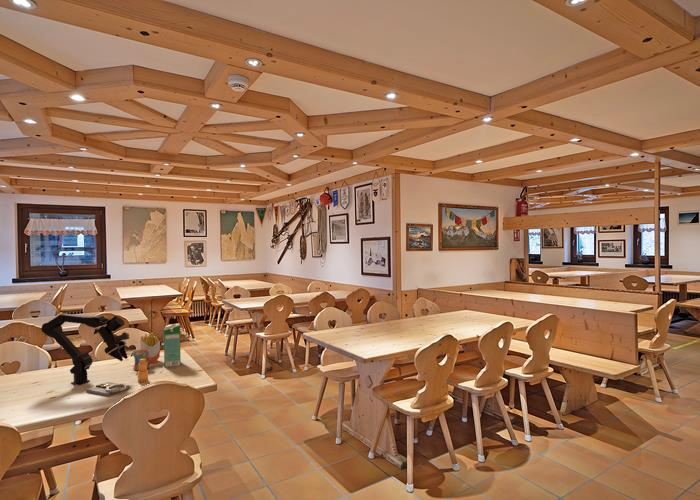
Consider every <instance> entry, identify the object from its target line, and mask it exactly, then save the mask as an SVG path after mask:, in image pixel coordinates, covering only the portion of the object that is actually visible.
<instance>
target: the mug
mask: <svg viewBox="0 0 700 500" xmlns="http://www.w3.org/2000/svg"><path fill="white" fill-rule="evenodd" d="M131 353H132V356H133V359H134V365H133V368H132V369H133V370H134V371H139V363H140V359H146V362H147V357H148V355H149V356H150V359H151V355H150V354H148V353H149V350H147V349H142V350H140V349H135V350H134V351H132V352H131ZM150 359H149V361H150ZM149 361H148V362H149ZM148 362H147V369H148V368H149V367H150V364H148Z"/></svg>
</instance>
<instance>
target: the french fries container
mask: <svg viewBox="0 0 700 500" xmlns="http://www.w3.org/2000/svg"><path fill="white" fill-rule="evenodd" d="M139 341H140V343H139V344H140V345H139V346H140V348H139V350H142V349H147V350H149V353H148V354H150V355H151V359H150V356H149V355H148V357H147V362H148V361H149V359H150V361H149V362H148V365H150V364H153V363H157V362H158V360H159V358H160V357H161V356H160V353H161V350H160V340H159V338H158V336H157V335H155V334H154V332H151V333H148V334H146V333H145V334H144V336H143V335H142V336H140V340H139Z"/></svg>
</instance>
